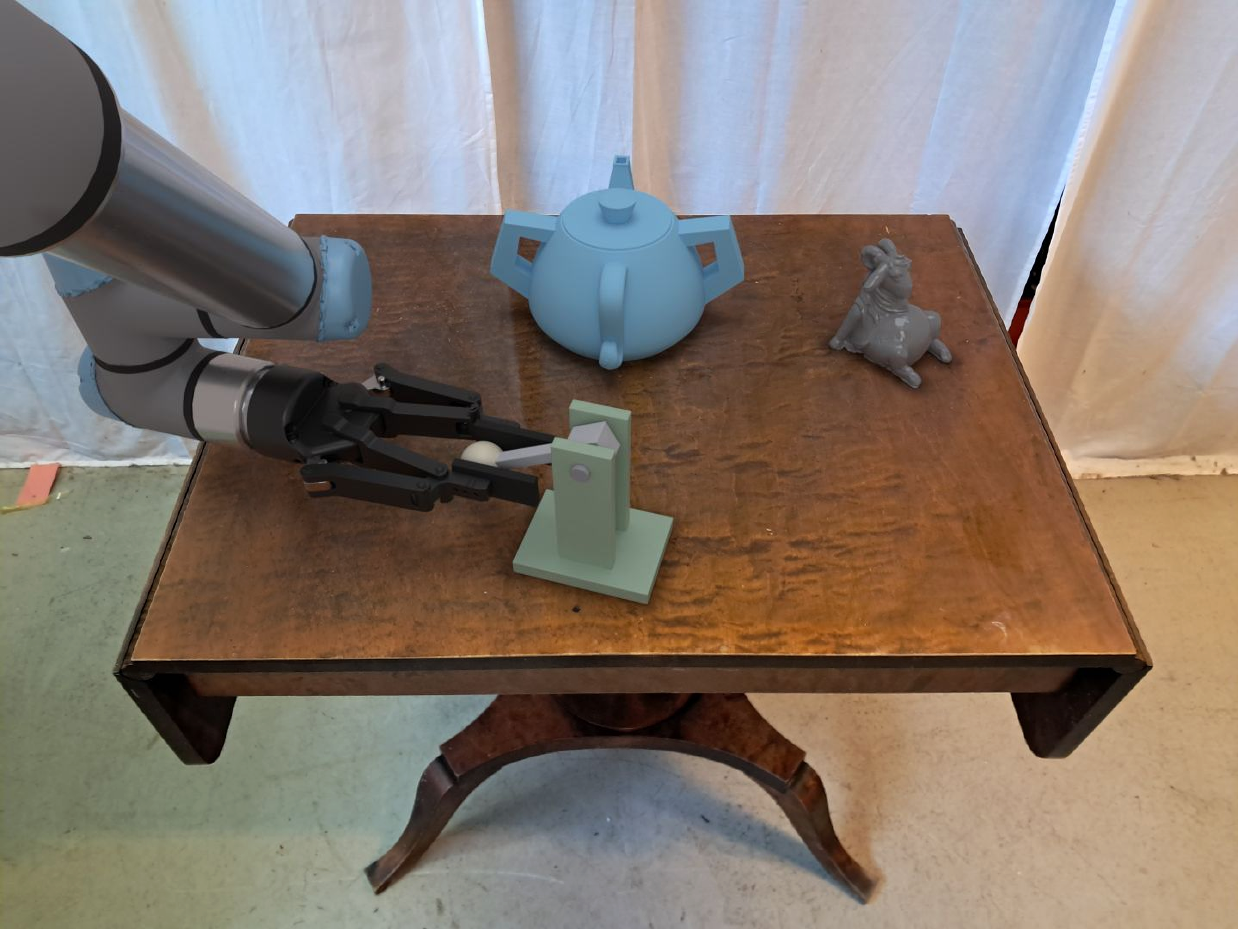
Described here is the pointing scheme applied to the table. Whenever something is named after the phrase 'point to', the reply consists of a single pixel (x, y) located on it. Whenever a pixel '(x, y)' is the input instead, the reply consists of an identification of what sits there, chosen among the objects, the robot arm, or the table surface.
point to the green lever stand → (594, 517)
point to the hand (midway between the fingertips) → (546, 471)
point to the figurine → (890, 317)
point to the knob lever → (538, 448)
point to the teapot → (617, 270)
